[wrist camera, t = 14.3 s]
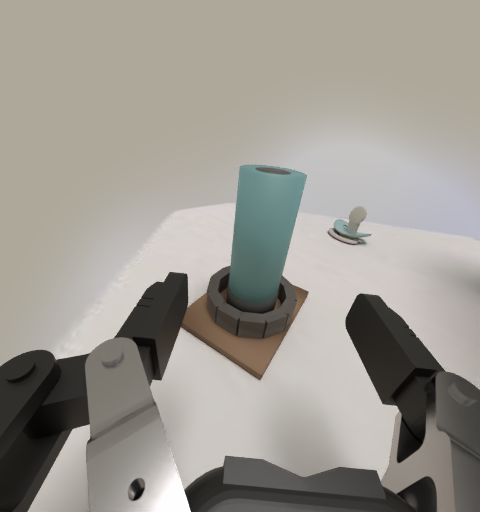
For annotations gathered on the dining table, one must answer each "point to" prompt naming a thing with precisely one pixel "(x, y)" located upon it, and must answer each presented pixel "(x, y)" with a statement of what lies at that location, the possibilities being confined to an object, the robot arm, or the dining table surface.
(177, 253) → the dining table surface
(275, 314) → the socket
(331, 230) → the pacifier
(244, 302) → the teal cylinder
